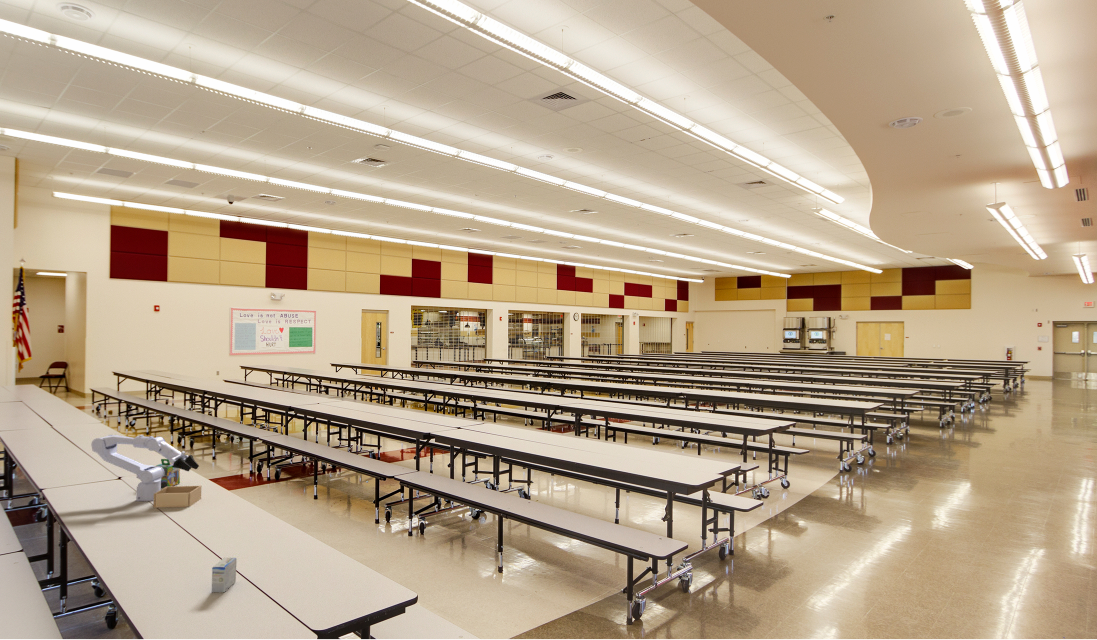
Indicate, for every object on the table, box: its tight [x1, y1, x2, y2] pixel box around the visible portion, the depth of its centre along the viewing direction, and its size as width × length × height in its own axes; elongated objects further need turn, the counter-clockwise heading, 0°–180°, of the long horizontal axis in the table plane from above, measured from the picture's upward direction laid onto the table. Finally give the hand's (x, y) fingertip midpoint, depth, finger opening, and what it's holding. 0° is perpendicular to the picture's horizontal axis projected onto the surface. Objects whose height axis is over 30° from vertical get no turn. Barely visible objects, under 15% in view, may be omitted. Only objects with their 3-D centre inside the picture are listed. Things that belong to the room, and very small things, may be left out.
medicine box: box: [211, 557, 237, 593], centre depth 190 cm, size 8×4×9 cm, turn 5°
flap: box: [155, 493, 189, 508], centre depth 268 cm, size 14×1×6 cm, turn 100°
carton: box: [153, 485, 202, 509], centre depth 273 cm, size 16×12×7 cm
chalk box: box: [155, 458, 181, 489], centre depth 303 cm, size 9×9×15 cm
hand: (193, 468), depth 280 cm, fingers open, 7 cm apart
